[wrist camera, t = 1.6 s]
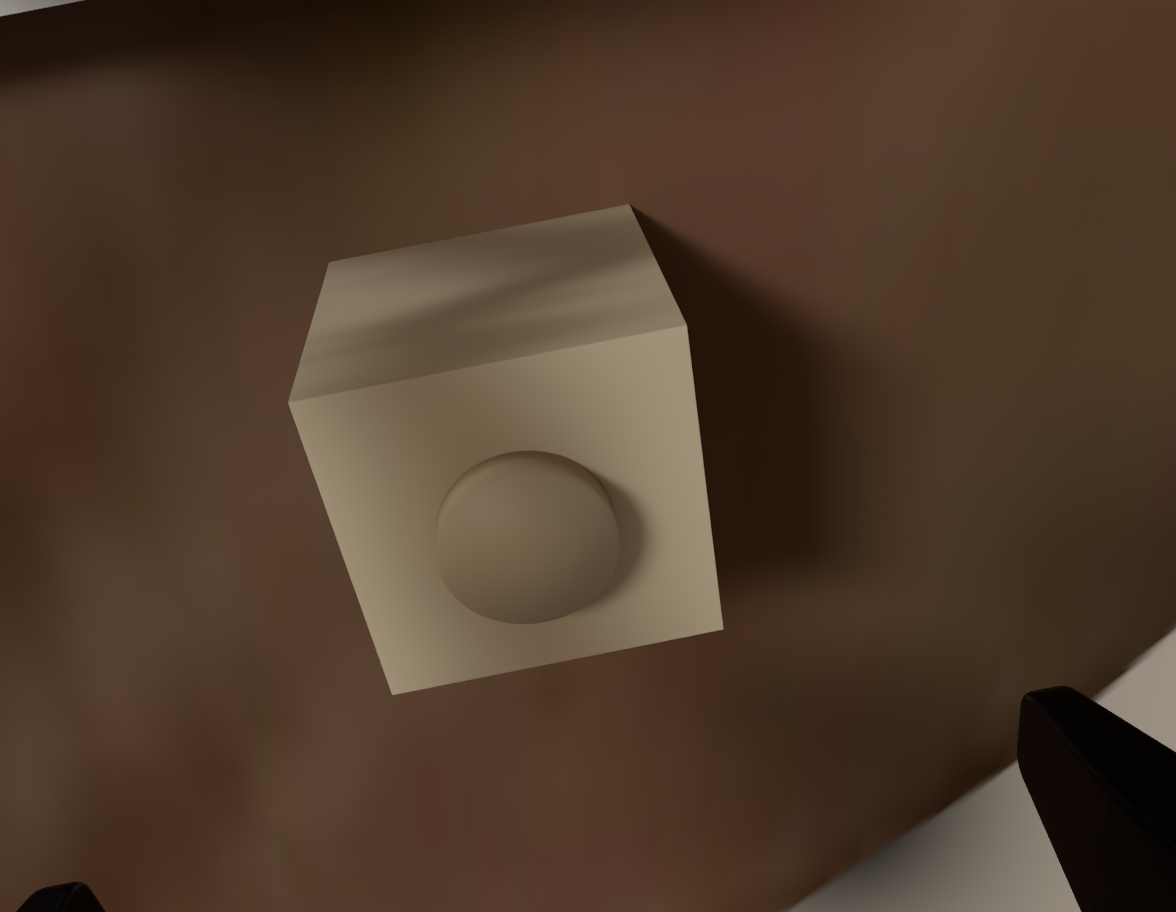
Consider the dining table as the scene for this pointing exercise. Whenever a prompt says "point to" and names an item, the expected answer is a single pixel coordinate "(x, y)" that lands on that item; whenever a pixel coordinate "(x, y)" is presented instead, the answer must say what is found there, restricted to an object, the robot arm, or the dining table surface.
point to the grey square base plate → (28, 5)
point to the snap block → (510, 448)
